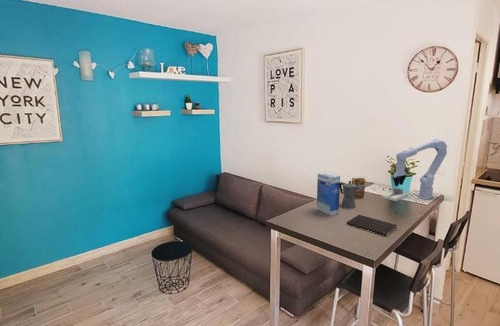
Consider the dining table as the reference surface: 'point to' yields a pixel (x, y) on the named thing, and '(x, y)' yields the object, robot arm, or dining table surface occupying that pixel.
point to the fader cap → (398, 190)
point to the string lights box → (328, 193)
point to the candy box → (359, 187)
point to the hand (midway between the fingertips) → (398, 185)
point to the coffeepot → (348, 194)
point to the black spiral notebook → (372, 224)
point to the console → (394, 196)
